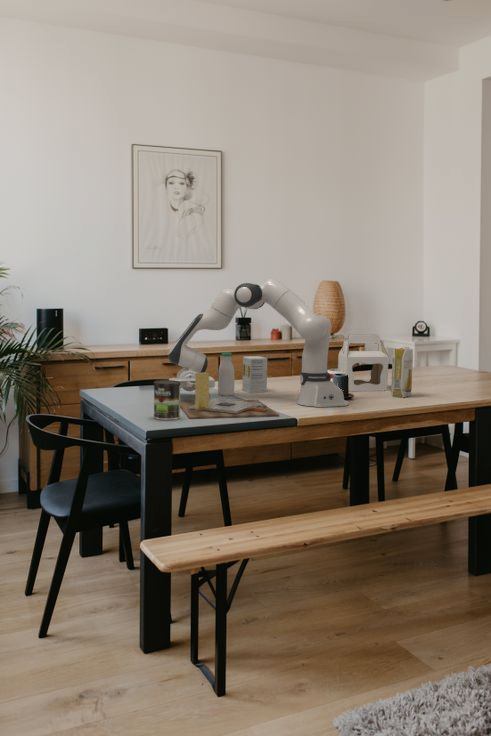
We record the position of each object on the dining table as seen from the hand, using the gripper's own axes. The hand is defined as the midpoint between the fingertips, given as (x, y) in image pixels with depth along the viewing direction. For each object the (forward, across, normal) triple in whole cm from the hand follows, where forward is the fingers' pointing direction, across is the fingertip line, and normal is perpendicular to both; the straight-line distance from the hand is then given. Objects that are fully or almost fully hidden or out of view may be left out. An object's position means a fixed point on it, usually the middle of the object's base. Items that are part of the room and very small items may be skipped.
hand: (193, 385), depth 296 cm
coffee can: (+26, -14, +9) cm, 31 cm away
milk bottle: (-27, +20, +9) cm, 35 cm away
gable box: (-35, +92, +9) cm, 98 cm away
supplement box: (-36, +36, +9) cm, 51 cm away
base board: (+12, +12, +8) cm, 19 cm away
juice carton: (-11, +102, +8) cm, 103 cm away
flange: (+15, +13, +7) cm, 22 cm away
